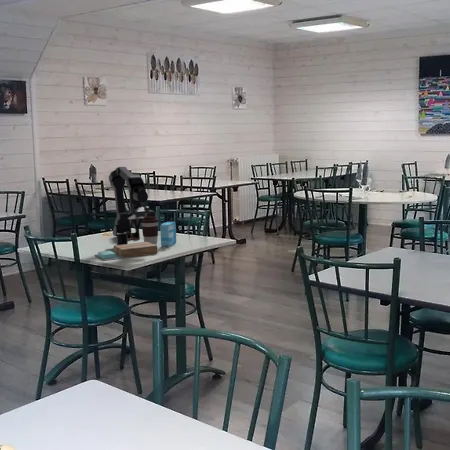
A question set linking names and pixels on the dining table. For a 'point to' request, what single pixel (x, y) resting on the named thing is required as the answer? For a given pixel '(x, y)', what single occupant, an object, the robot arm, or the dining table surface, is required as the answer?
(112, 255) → the teal foam pad
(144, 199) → the robot arm
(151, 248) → the brown flat block
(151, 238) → the coffee cup
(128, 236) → the letter holder
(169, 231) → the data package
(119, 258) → the mat
